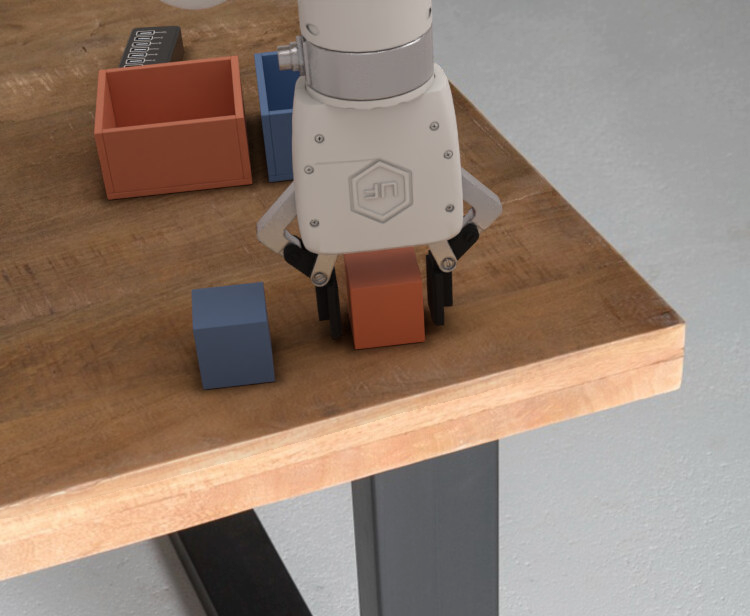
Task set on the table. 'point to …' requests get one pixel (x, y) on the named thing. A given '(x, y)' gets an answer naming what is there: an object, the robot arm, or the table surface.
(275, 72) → the blue bin
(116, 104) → the terracotta bin
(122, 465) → the table surface
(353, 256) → the terracotta block
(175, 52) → the multiport hub
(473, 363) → the table surface
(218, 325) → the blue block
